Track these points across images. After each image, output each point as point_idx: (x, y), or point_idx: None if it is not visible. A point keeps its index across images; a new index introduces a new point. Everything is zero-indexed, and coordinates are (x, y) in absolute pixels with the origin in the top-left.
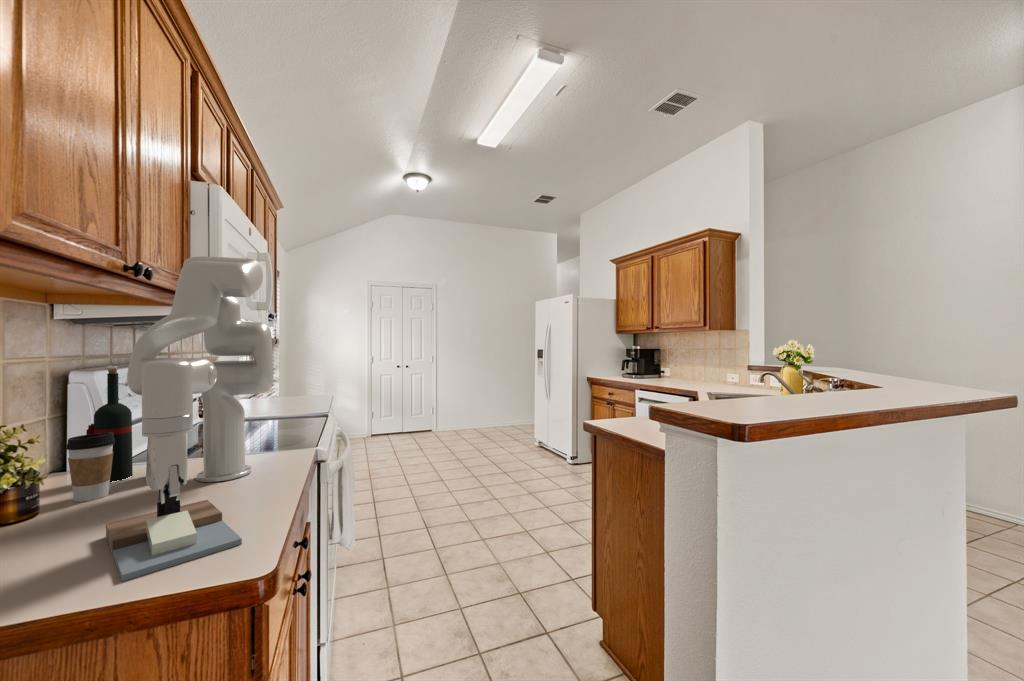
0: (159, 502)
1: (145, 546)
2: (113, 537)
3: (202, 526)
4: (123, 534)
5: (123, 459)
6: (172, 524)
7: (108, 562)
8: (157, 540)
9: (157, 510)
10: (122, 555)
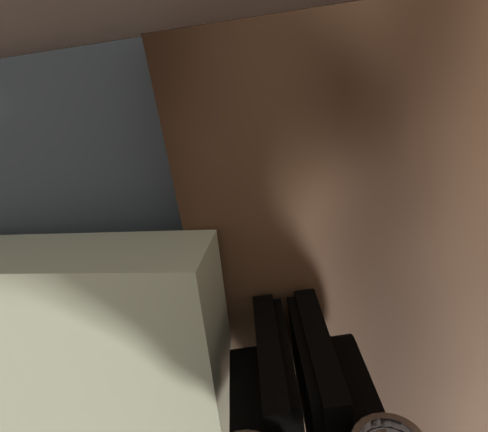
0: (337, 420)
1: (86, 205)
2: (231, 33)
3: None
4: (248, 98)
5: None
6: (55, 389)
7: (58, 18)
8: None
9: (316, 353)
10: (4, 95)
